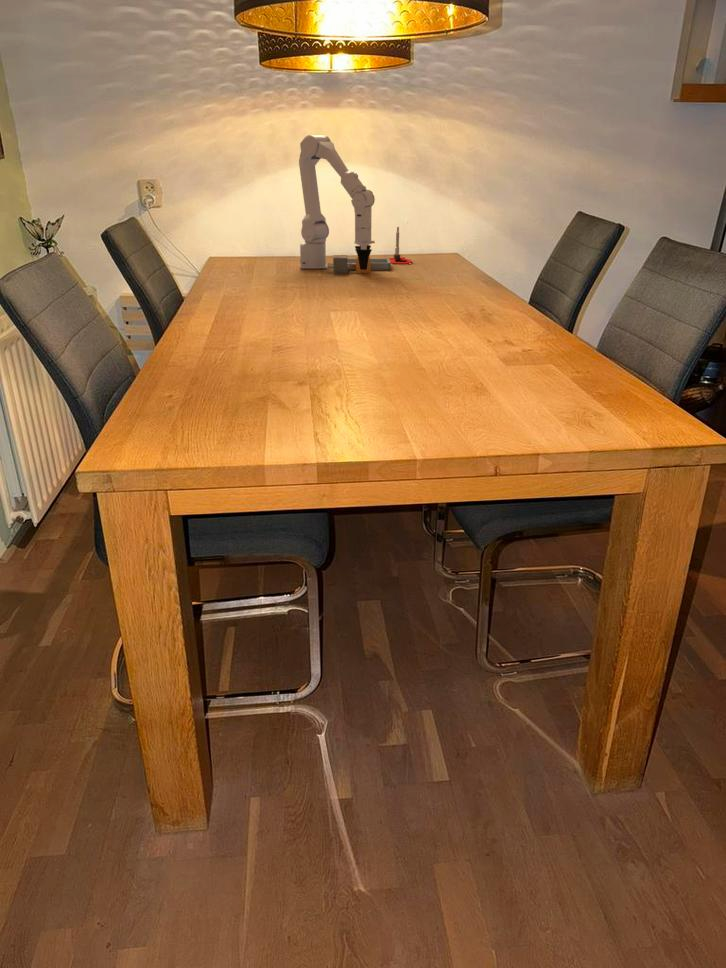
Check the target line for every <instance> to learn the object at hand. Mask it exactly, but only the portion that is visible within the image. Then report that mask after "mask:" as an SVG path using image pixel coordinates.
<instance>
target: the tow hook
mask: <svg viewBox="0 0 726 968" xmlns="http://www.w3.org/2000/svg"><path fill="white" fill-rule="evenodd" d="M395 233H396V235H395V248H394V249H395V250H394V254H393V257H389V260H390V263H393V264H392V265H395V264H408V265H410V264H409V263H412V264H413V260H412V259H409V258H406V257H405V256H401V254H400V226H397V227H396V232H395ZM396 261H399V262H396ZM404 261H406V262H404Z"/></svg>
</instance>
